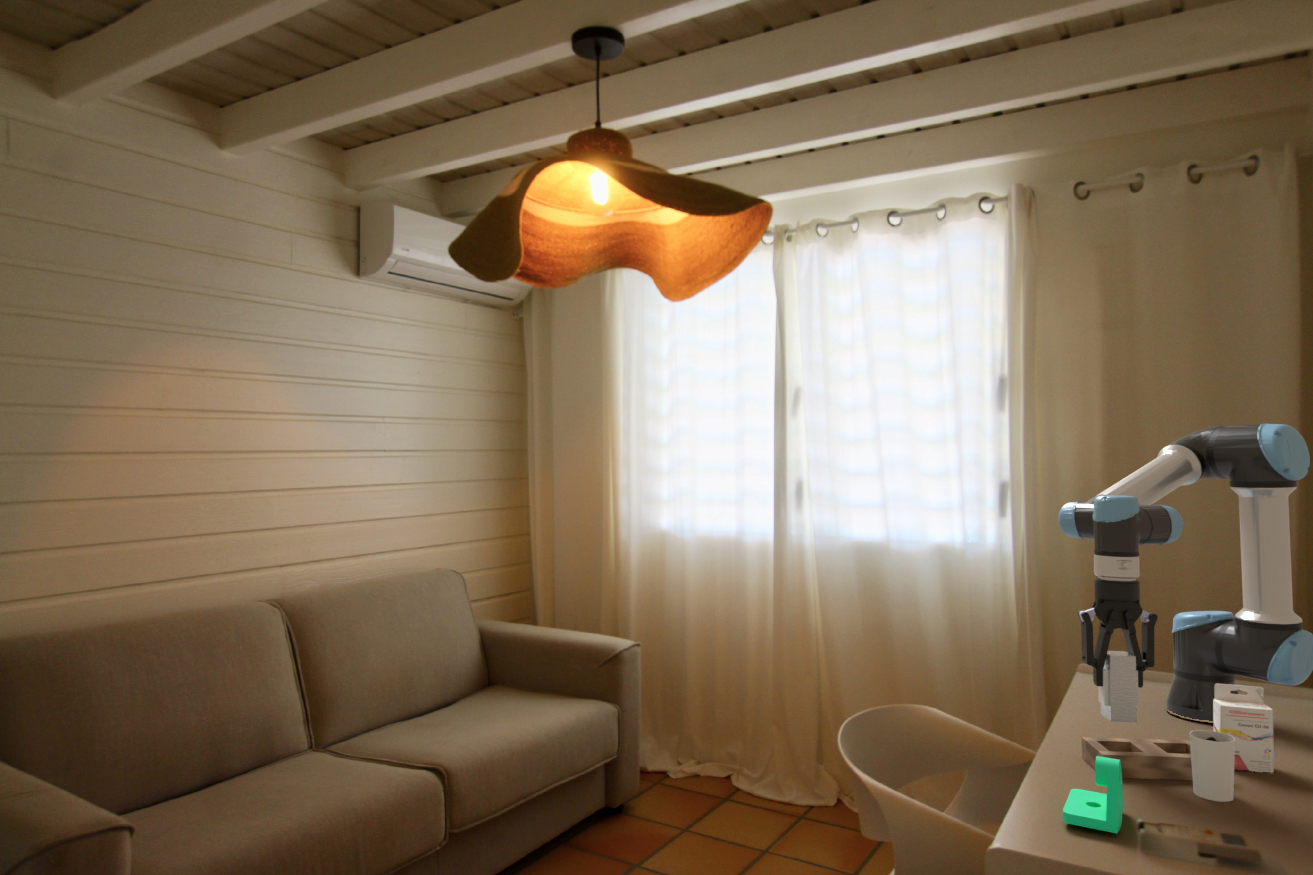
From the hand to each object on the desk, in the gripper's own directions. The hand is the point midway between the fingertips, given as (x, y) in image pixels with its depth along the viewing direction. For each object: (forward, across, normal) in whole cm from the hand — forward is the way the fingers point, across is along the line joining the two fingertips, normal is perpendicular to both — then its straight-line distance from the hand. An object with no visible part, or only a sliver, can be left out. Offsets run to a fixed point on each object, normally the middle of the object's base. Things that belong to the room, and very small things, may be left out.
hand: (1118, 703), depth 159 cm
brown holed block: (+12, +5, 0) cm, 13 cm away
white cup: (+12, +10, -12) cm, 20 cm away
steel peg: (+3, 0, 0) cm, 3 cm away
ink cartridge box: (+12, +23, +3) cm, 26 cm away
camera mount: (+12, -14, -24) cm, 31 cm away
